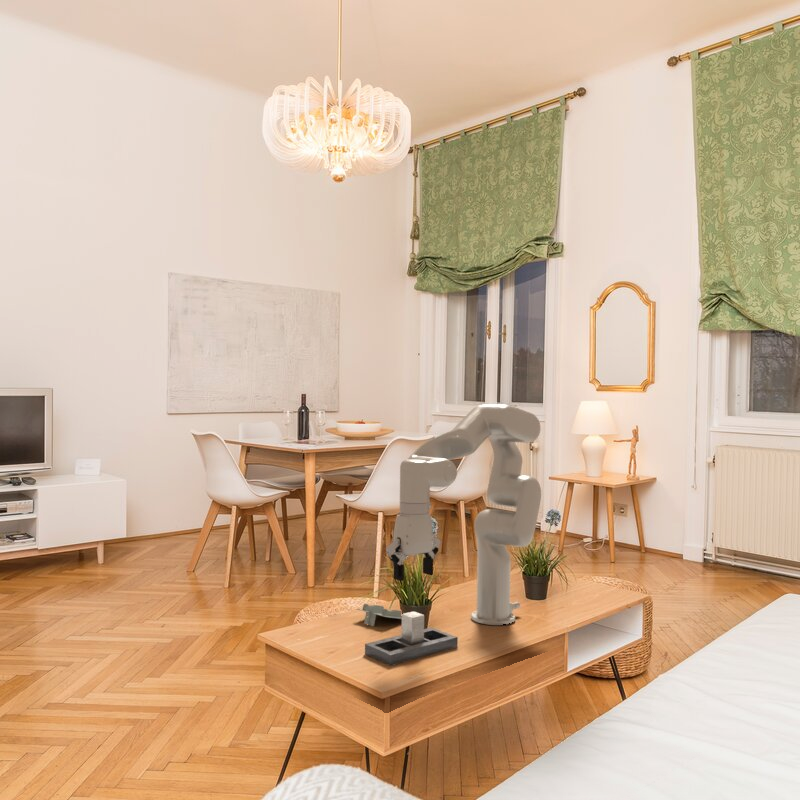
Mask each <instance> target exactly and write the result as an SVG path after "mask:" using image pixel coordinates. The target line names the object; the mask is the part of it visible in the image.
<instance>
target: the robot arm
mask: <svg viewBox="0 0 800 800" xmlns="http://www.w3.org/2000/svg"><path fill="white" fill-rule="evenodd" d="M540 433H541V423H540V420H539V418H538V417H537V415H535V414H534V413H532V412H529V411H526V410H524V409H522V408H521V409H520V408H519V407H516V406H512V405H509V404H486V403H485V404H480V405H477V406H475V407H473V408H472V409H471V410H470V411H469V412H468V413H467V414H466V415H465V416H464V417H463V418H462V419H461V421H460V422H459V423H457V424H456V425H455V427H453V428H452V429H451V430H449V431H447V432H445V433H443V434H440V435H438V436H436V437H434V438H432V439H430V440H428V441H425V442H424V443H422V444H421V445H420V446H419V447H417V449H415V451H414V452H413V453H412V454H411V455H410V456H409V457H408V458H407V459H404V460H402V461H401V462H400V465H399V475H400V476H399V513H398V514H397V515H396V518H395V523H394V528H393V539H392V542H391V543H390V544H389V545H387V546H386V547H385V552H386V553H387V555H388V556H387V557H388V558H389V560H390V561H391V563H392V564H393V579H394V580H397V581H398V582H399V581H400V582H403V581H405V580H404V579H405V564H403V563H404V561H405V560H406V558H407V557H411V556H412V557H413V556H417V555H423V556H424V557H422V573H423V574H424V575H425V574H426V575H429V576H433V574H434V559H436V554H437V553H438V551H439V548H440V545H441V543H442V542H441V539H439V538H438V537H435V536H434V530H433V529H434V528H433V527H434V526H433V520H432V515H431V513H430V509H431V508H432V503H431V502H430V495H431V494H430V493H431V492H430V491H431V490H430V489H431V488H432V487H434V488H446V487H448V486H451V485H452V484H453V483H455V481H456V479H457V475H458V470H457V467H456V465H455V463H454V462H453V461H452V460H456V459H460V458H463V457H467V456H470V455H472V454H474V453H475V452H476V451H477V449H478V448H479V447H480V446H481V445H482V444H483V443H484V442H485V441H486V440H487V439H488V440H489V442H490V444H491V445H490V446H491V447H492V451H493V460H492V462H493V463H492V467H491V472H490V474H489V475H490V476H489V480H488V484H487V485H488V486H487V491H486V492H487V493H486V497H487V500H488V501H489V502H490V504H492V505H495V506H498V507H499V506H500V507H504V508H505V507H506V508H512V509H513V508H514V509H515V511H508V510H503V509H494V508H489V509H488V508H486V509H483V510H481V511H479V513H478V514H477V515H476V517H475V520H474V523H473V524H474V534H475V539H476V540H475V541H476V546H477V547H476V549H477V560H476V562H477V567H476V568H477V569H476V571H477V572H476V577H477V578H476V579H477V580H476V610H474V611H472V612H471V613H470V619H471V620H472V621H473V622H475V623H479V624H482V625H487V626H504V625H503V624H506V625H510V624H512V622H513V623H514V622H515V620H516V616H515V614H513V612H512V611H514V610H518V609H520V608H521V603H520V602H518V601H514V602H511V555H510V552H509V549H508V548H507V546H510V547H516V548H525V547H528V546H529V545H530V544H531V543H532V541H533V539H534V535H535V531H536V527H537V522H538V521H537V520H538V516H539V512H540V508H541V507H540V505H541V501H542V488H541V484H540V483H539V481H538V479H536V478H535V477H533V476H531V475H523V474H521V472H522V467H523V456H522V453H521V451H520V449H519V447H518V445H517V444H516V443H522V444H523V443H526V444H528V443H533V442H535V441H536V440H537V439H538V437H539V436H540ZM509 623H510V624H509Z"/></svg>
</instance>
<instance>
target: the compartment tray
mask: <svg viewBox="0 0 800 800" xmlns="http://www.w3.org/2000/svg"><path fill="white" fill-rule="evenodd" d="M455 648H458V636H455V635H453V634H450V633H447V632H445V631H442V630H440V629H437V628H435V627H427V628H424V643H421V644H417V645H413V646H410V645H407V644H405V643H402V642H401V634H400V635H396V636H395V635H394V636H392V637H388V638H383V639H380V640H375V641H371V642H366V643H364V655H366V656H368V657H370V658H372V659H374V660H377V661H379V662H381V663H383V664H385V665H388V666H390V667H391V666H395V665H398V664H401V663H405V661H406V662H409V661H412V660H416V659H420V658H423V657H426V656H430V655H434V654H438V653H441V652H444V651H447V650H451V649H455ZM394 664H395V665H394Z"/></svg>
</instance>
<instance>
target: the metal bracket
mask: <svg viewBox="0 0 800 800" xmlns="http://www.w3.org/2000/svg"><path fill="white" fill-rule="evenodd" d="M357 610H358V611H362V612H365V616H364V621H363V625H364V624H368V625H371V626H370V627H372V626H374V627H375V624H376V623H375V622H376V618H377V617H376V616H380V617H384V618H388V619H389V618H390V619H391V618H392V619H398V620H402V616H401V611H402V610H397V609H391V610H388V608H384V605H377V604H371V605H369V604H368V603H364V604H363V605H362V608H357ZM368 625H367V626H368Z"/></svg>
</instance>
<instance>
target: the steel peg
mask: <svg viewBox="0 0 800 800" xmlns="http://www.w3.org/2000/svg"><path fill="white" fill-rule="evenodd" d="M424 629H425V615H424V614H422V613H419V612H417V611H410V612H409V611H408V612H403V614H402V619H401V634H400V635H401V642H402V643H405V644H407V645H410V646H413V645H417V644H421V643H424Z"/></svg>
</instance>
